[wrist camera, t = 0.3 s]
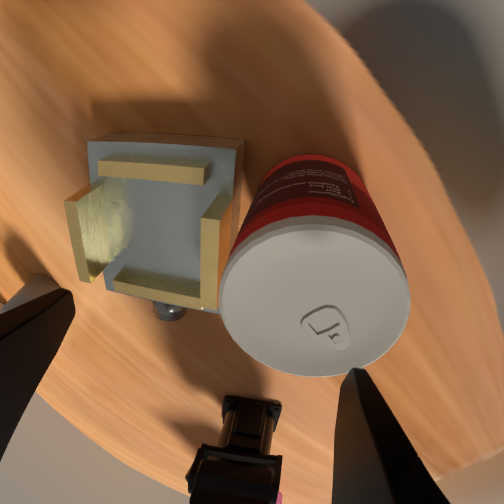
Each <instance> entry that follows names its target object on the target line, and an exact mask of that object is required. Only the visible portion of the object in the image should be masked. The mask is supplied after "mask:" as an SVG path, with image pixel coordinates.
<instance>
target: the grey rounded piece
mask: <svg viewBox="0 0 504 504" xmlns="http://www.w3.org/2000/svg"><path fill="white" fill-rule="evenodd" d="M58 288H61V287H60V286H59V285H58V284H57V283H56V282H55V281H54V280H53V279H51V278H50V277H48V276H46V275H43V274H36V275H35V276H33V277H32V278H31V279H30V280H29V281H28V282H27V283H26V284H25V285H24V286H23V287H22V288H21V289H20V290H19V291H18V292H17V293H16V294H15V295H14V296H13V297H12V298H11V299H10V300H9V301H8V302H7V303H6V304H5V305H4V306H3V307H2V309H1V313H4V312H6V311H8V310H10V309H12V308H15V307H17V306H19V305H21V304H24V303H26V302H28V301H30V300H33V299H35V298H37V297H40V296H42V295H44V294H46V293H49V292H51V291H53V290H56V289H58Z"/></svg>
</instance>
